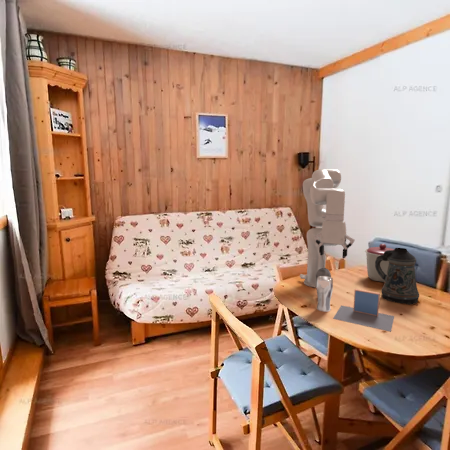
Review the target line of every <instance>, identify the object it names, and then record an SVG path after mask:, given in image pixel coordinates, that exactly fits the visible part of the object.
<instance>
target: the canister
mask: <svg viewBox="0 0 450 450" xmlns="http://www.w3.org/2000/svg"><path fill="white" fill-rule="evenodd" d="M394 249H395V248H391V247H387V245H386V243H380V244H379V246H371V247H369V248H367V249H365V251H364V252H365V253H366V256H365V257H366V268H367V277H368V278H369V279H370V280H372V281H375V282H380V283H385V280H383V279H382V278H381V276H380V275H379V274H378V272H377V270H376V268H375V261H376V258H377V257H378V256H380V255H383V254H384V252H385V251H387V250H394ZM388 266H389V261H381V263H380V267H381V269H382V271H383V272H384V273H385V274H386V275H387V270H388Z"/></svg>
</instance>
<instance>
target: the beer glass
mask: <svg viewBox="0 0 450 450" xmlns="http://www.w3.org/2000/svg"><path fill="white" fill-rule="evenodd" d="M333 280H334V279H333V277H332V276H331V277H328V276H319V277H317V288H316V295H317V305H316V309H317V311H319V312H324V313H326V312H331V311H332V310H331V308H332V307H331V299H332V297H333V296H332V295H333V290H334V287H333V286H334V281H333Z"/></svg>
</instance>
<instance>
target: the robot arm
mask: <svg viewBox="0 0 450 450" xmlns="http://www.w3.org/2000/svg"><path fill="white" fill-rule="evenodd" d="M341 180H342V173H341V171H340V170H339V169H336V168H320V169H317V170H314V171H313V172H312V175H311V177H310V178H307V179H304V180H303V183H302V192H303V197H304V198H305V201H306V205H307V219H308V220H307V221H308V224H309V226H311V227H314V228H309V230H307V232H306V243H307V263H306V264H307V269H306V271H307V272H306V274H302V273H300V274H299V278H300V279H301V280H302V279H303V284H304V285H305V286H307V287H310V288H316V289H317V280H316V273H317V271H318V270H319V269H320V268H323V262H324V260H325V261H326V259H327V257H326V256H327V255H326V252H325V247H327V246H328V247H331V246H332V247H333V246H342V247H343V249H342V259H346V257H347V256H348V249H349V248H350V247H351V246H353V244H354V242H355V239H354V238H353V237H352V236H350V235H347V226H346V225H347V224H346V221H345V203H346V201H345V197H346V192H345V190H343V189H342V188H339V185H340V184H341ZM324 205H325V208H324ZM347 240H348V241H349V243H348V244H347V243H346V242H347ZM324 268H326V264H325V265H324Z"/></svg>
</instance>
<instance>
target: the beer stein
mask: <svg viewBox="0 0 450 450" xmlns="http://www.w3.org/2000/svg"><path fill="white" fill-rule="evenodd" d="M393 249H394V250H387V251H385V252H384V254H383V255H380V256H378V257H377V258H376V261H375V268H376V270H377V272H378V274H379V275H380V276H381V278H382V279H383V280H385V282H383V286H382V287H381V290H380V291H381V292H380V293H381V297H382V298H383V300H385V301H387V302H391V303H397V304H403V305H409V306H410V305H411V306H413V305H415V304H417V303H418V301H419V298H420V292H419V290H418V285H417V279H416V269H415V265H416V263H417V258H416V257H415V256H414V255H413V254H412V253H410V252H409V251H408V248H405V247H395V248H393ZM381 261H389V266H388V270H387V275H386V274H385V273H384V272H383V271H382V269H381V267H380V263H381Z"/></svg>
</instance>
